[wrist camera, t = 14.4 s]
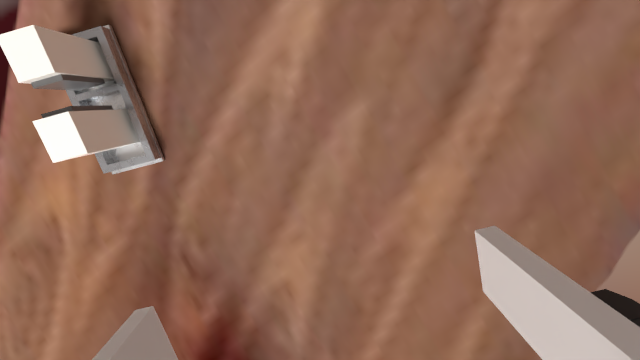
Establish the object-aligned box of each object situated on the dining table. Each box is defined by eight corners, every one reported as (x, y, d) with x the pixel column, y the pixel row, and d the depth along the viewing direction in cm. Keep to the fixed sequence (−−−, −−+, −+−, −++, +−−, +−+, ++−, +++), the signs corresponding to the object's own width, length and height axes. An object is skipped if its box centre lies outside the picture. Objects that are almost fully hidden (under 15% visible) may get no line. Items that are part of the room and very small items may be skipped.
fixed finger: (104, 44, 39) (33, 24, 29) (120, 84, 40) (57, 78, 30) (76, 52, 39) (-5, 36, 29) (93, 91, 40) (21, 88, 30)
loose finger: (114, 148, 42) (53, 163, 32) (98, 112, 40) (29, 115, 31) (141, 141, 41) (87, 153, 32) (126, 104, 40) (65, 105, 30)
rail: (57, 41, 39) (41, 38, 36) (111, 25, 38) (99, 21, 36) (115, 173, 43) (104, 177, 41) (165, 160, 43) (156, 163, 40)
